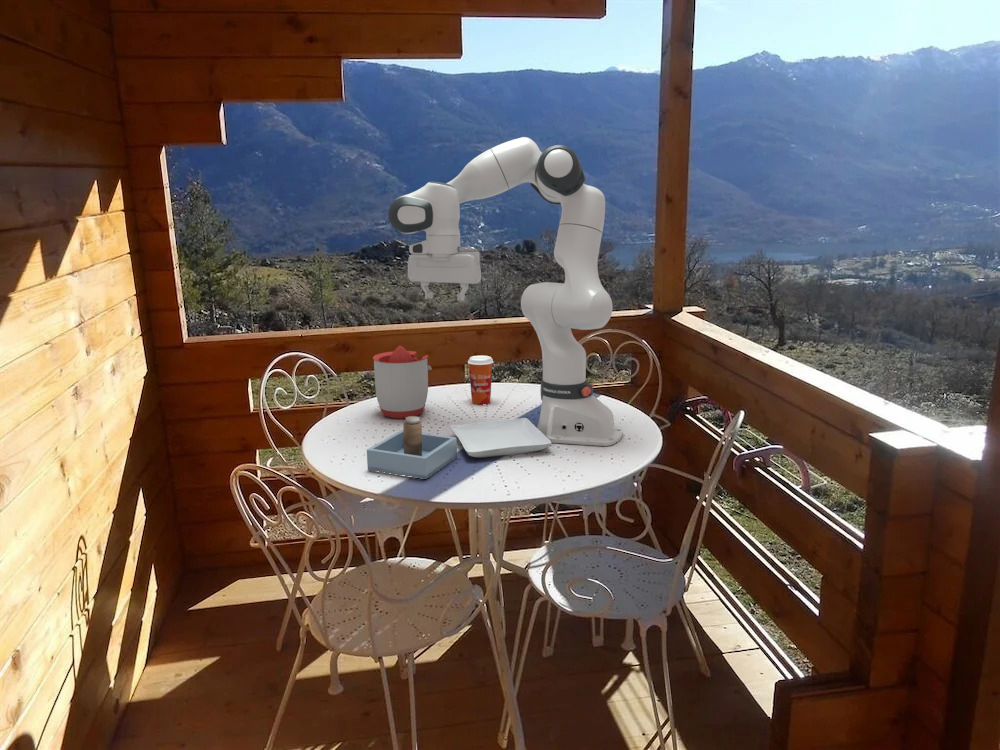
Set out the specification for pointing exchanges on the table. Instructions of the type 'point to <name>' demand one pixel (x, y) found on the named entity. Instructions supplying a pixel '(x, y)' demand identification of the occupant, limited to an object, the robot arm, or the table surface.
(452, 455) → the slate blue bin
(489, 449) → the salad plate
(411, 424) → the walnut pepper mill
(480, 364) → the paper cup
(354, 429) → the table surface
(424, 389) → the citrus juicer
